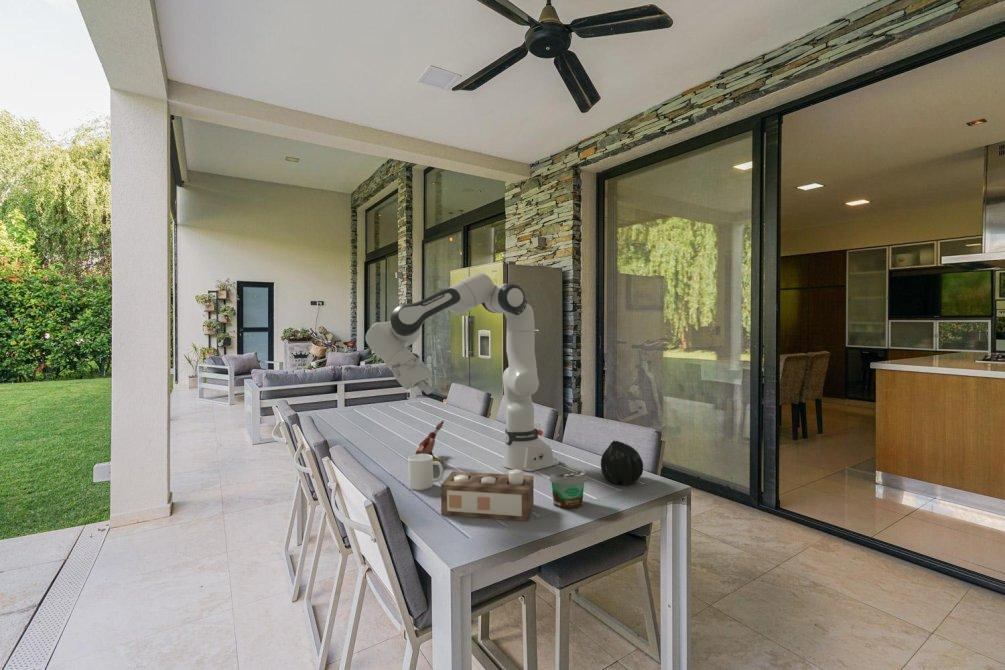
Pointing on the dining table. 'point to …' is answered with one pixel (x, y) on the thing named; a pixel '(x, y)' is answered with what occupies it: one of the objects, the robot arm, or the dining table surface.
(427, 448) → the decorative bird
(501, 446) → the dining table surface
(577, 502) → the food container
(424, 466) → the cup
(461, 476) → the white egg
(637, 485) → the dining table surface
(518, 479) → the white rounded cylinder
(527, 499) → the wooden peg block
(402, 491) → the dining table surface
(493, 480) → the white rounded cylinder
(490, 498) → the pattern card
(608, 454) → the squash
